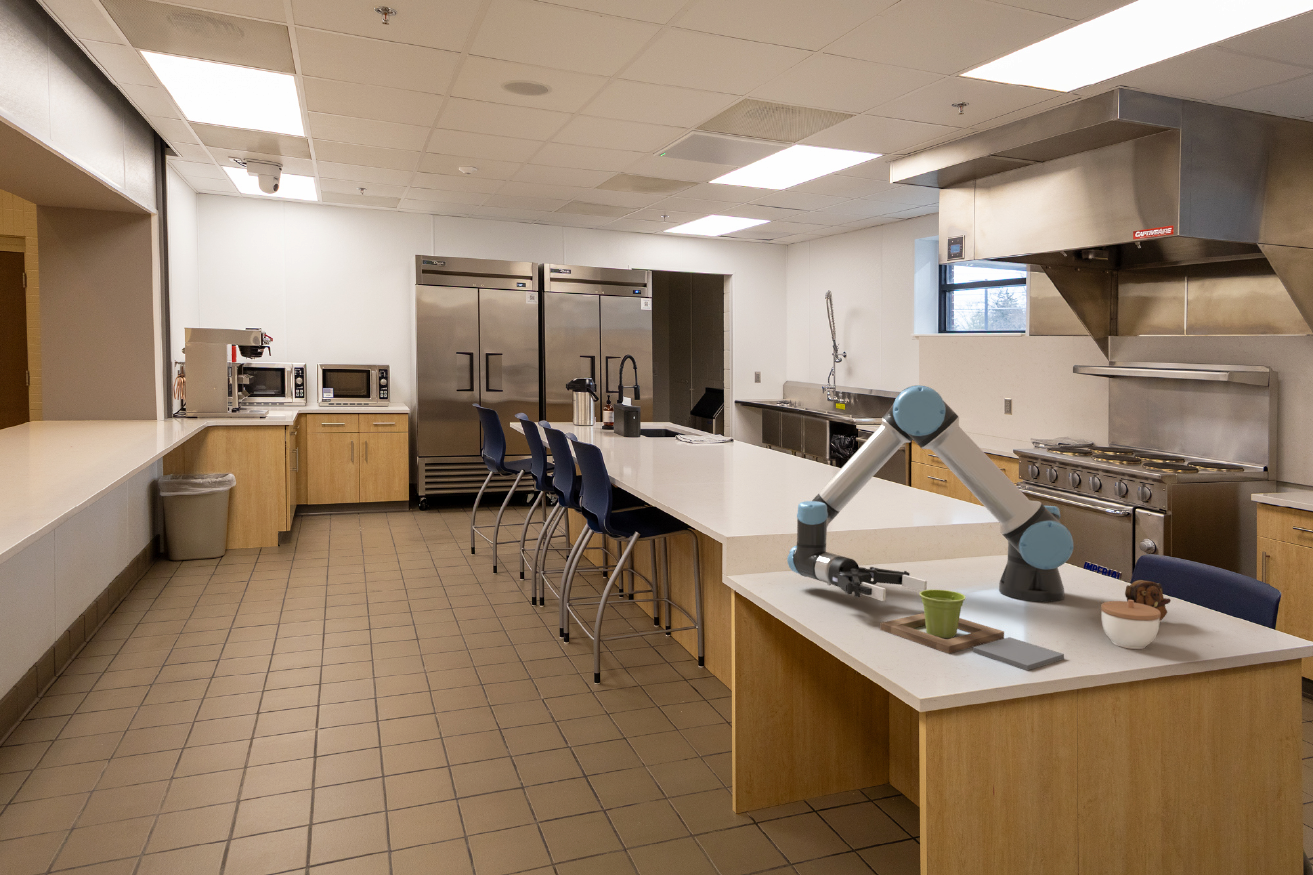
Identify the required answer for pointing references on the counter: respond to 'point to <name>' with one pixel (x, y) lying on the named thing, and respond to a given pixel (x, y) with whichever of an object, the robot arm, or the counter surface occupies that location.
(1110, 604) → the lidded jar
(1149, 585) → the wooden carving
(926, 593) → the plant pot
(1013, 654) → the charcoal mat
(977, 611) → the counter surface
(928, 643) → the walnut frame
